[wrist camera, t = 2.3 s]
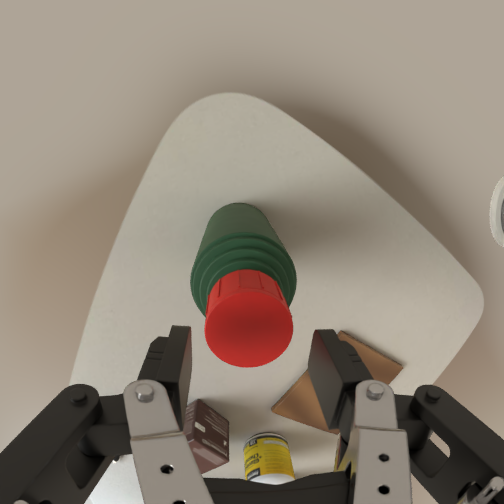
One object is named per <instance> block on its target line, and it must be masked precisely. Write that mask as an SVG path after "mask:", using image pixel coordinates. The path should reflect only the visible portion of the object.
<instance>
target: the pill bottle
mask: <svg viewBox="0 0 504 504" xmlns="http://www.w3.org/2000/svg"><path fill="white" fill-rule="evenodd" d="M244 462H245V477H246V480H249V481H254V482H260V483H267V484H274V485H279V484H283V483H286V482H290V481H293V480H295V477H294V471H293V466H292V462H291V457H290V452H289V447H288V443H287V441H286V439H285V438H283V437H282V436H280V435H277V434H273V433H264V434H259V435H256V436H253V437H252V438H250V439H249V440H248V441H247V442H246V443H245V445H244Z"/></svg>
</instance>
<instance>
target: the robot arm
mask: <svg viewBox="0 0 504 504" xmlns="http://www.w3.org/2000/svg"><path fill="white" fill-rule="evenodd" d="M501 225H502V230H503V233H504V199H503V203H502V208H501ZM191 372H192V342H191V327H190V326H175V325H172V328H171V331H170V334H169V337H158V338H156V339H155V340H154V341H153V342H152V343H151V344H150V347H149V350H148V352H147V355H146V359H145V360H144V363H143V365H142V368H141V371H140V374H139V376H138V379H137V381H134V382H132V383H130V384H129V385H128V386H127V387H126V388H125V389H124V392H123V394H119V395H113V396H100V397H99V394H98V392H97V390H96V389H95V388H93V387H92V386H89V385H85V384H75V385H71V386H69V387H67V388H65V389H64V390H63V391H62V392H60V394H58V396H57V397H56V398H54V399H53V400H52V401H51V403H49V404H48V405H47V406H46V407H45V409H43V410H42V411H41V412H40V413H39V414H38V415H37V416H36V417H35V418H34V419H33V420H32V421H31V423H30V424H28V426H26V427H25V428H24V429H23V430H22V431H21V433H20V434H19V435H18V436H17V437H16V438H15V439H14V440H13V441H12V442H11V443H10V444H9V445H8V446H7V447H6V448H5V449H4V450H3V451H2V452H1V453H0V504H84V503H85V501H86V500H87V498H88V497H89V495H90V494H91V492H92V491H93V489H94V488H95V486H96V485H97V483H98V482H99V480H100V479H101V477H102V476H103V474H104V473H105V471H106V470H107V468H108V467H109V465H110V464H111V462H112V461H113V459H114V458H115V456H116V455H127V454H133V459H134V463H135V468H136V472H137V476H138V480H139V484H140V488H141V492H142V496H143V500H144V503H145V504H412V487H411V473H412V474H413V476H414V477H415V478H416V479H417V480H418V481H419V482H420V483H421V485H422V486H423V487H424V488H425V489H426V490H427V491H428V492H429V493H430V495H431V496H432V497H433V498H434V499H435V500H436V501H437V502H438V503H439V504H504V440H503V439H502V438H501V437H500V436H498V435H497V434H496V433H495V432H494V431H492V430H491V429H490V428H489V427H488V426H486V425H485V424H484V423H483V422H482V421H480V420H479V419H478V418H477V417H476V416H474V415H473V414H472V413H471V412H470V411H468V410H467V409H466V408H465V407H464V406H462V405H461V404H460V403H459V402H457V401H456V400H455V399H454V398H453V397H452V396H450V395H449V394H448V393H447V392H445V391H444V390H443V389H441V388H439V387H437V386H433V385H422V386H420V387H418V388H417V389H416V391H415V393H414V396H408V395H397V394H394V392H393V390H392V388H391V387H390V386H389V385H387V384H386V383H384V382H381V381H378V380H374V378H373V377H372V375H371V374H370V372H369V370H368V369H367V367H366V365H365V364H364V362H362V359H361V357H360V356H358V353H357V351H356V349H355V348H354V347H353V346H352V345H351V344H349V343H348V342H347V341H340V339H339V338H338V336H337V334H336V333H335V331H334V330H333V329H322V330H315V331H314V334H313V339H312V344H311V350H310V355H309V361H308V372H309V376H310V379H311V382H312V385H313V388H314V390H315V393H316V396H317V399H318V402H319V404H320V407H321V410H322V413H323V416H324V418H325V421H326V424H327V427H328V430H333V429H339V430H340V435H339V438H338V441H337V450H336V457H335V465H334V472H330V473H322V474H314V475H309V476H306V477H303V478H300V479H297V480H293V481H290V482H286V483H283V484H279V485H274V484H267V483H260V482H254V481H249V480H243V479H225V478H203V477H202V475H201V473H200V470H199V468H198V466H197V463H196V461H195V459H194V456H193V454H192V451H191V449H190V446H189V444H188V441H187V438H186V436H185V434H184V432H183V429H184V422H185V414H186V407H187V400H188V393H189V386H190V379H191ZM433 431H434V432H435V433H436V434H437V435H438V436H439V437H440V438H441V439H442V440H443V441H444V442H445V443H446V444H447V445H448V446H449V448H450V457H449V458H448V457H447V456H446V455H445V454H444V453H443V452H442V451H441V450H440V449H439V448H438V447H437V446H436V445H435V444H434V443H433V442H432V441H431V440H430V439H429V438H430V437H431V435H432V433H433Z"/></svg>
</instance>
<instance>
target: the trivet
mask: <svg viewBox="0 0 504 504" xmlns="http://www.w3.org/2000/svg"><path fill="white" fill-rule="evenodd" d="M337 336H338V338H339V339H340V341H347V342H348V343H349V344H351V345H352V346H353V347H354V348H355V349H356V351H357V353H358V356H360V357H361V359H362V362H364V364H365V365H366V367H367V369H368V370H369V372H370V374H371V375H372V377H373V378H374V380H378V381H381V382H384V383H386V384H387V385H389V383H390V382H391V381H392V380H393V379H394V378H395V377H396V376H397V375H398V373H399V372H400V371H401V370H402V369H403V367H402V366H401V365H400V364H399V363H397V362H395V361H393V360H391V359H390V358H388V357H386V356H384V355H383V354H381V353H379V352H377V351H376V350H374V349H372V348H370V347H369V346H367V345H365V344H363V343H362V342H360V341H358V340H356V339H355V338H353V337H351V336H349V335H348V334H346V333H344V332H342V331H340V332H339V333H338V334H337ZM272 412H273V413H276V414H279V415H281V416H284V417H287V418H289V419H292V420H295V421H297V422H300V423H303V424H306V425H309V426H312V427H315V428H318V429H321V430H324V431H327V432H330V433H333V434H336V435H338V434H339V433H340V430H339V429H333V430H328V427H327V424H326V421H325V418H324V416H323V413H322V410H321V407H320V404H319V402H318V399H317V396H316V393H315V390H314V388H313V385H312V382H311V379H310V376H309V372H308V369H307V371H306V372H305V373H304V374H303V375H302V376H301V377H300V378H299V379H298V381H297V382H296V383H295V384H294V385H293V386H292V387H291V388H290V389H289V390H288V391H287V392H286V393H285V395H284V396H283V397H282V398H281V399H280V400H279V401H278V402H277V403H276V404H275V405H274V406H273V407H272Z"/></svg>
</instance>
